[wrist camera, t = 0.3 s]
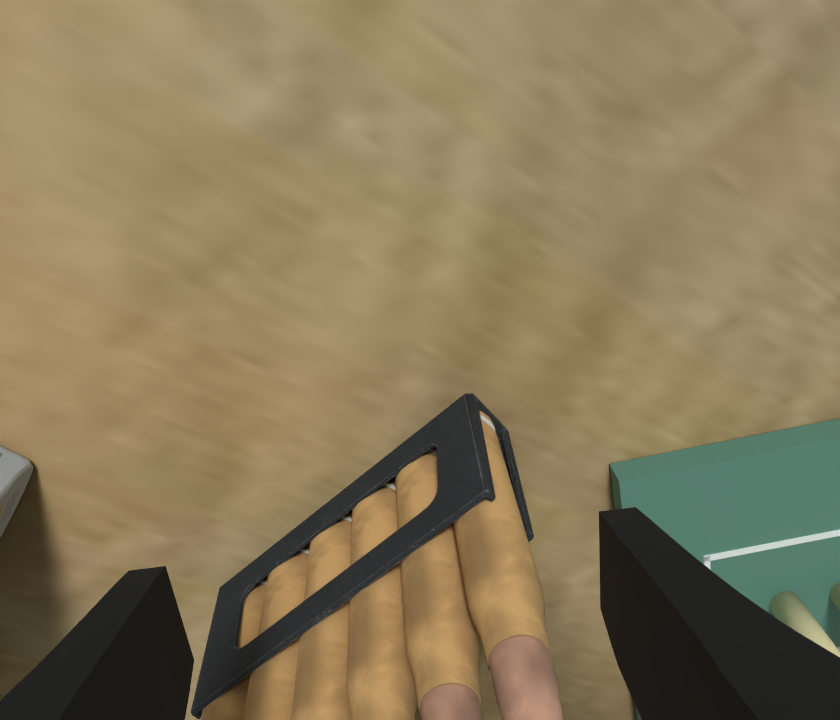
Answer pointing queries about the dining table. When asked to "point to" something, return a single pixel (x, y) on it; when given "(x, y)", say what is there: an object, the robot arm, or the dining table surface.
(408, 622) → the ammunition clip
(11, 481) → the coffee box
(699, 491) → the board
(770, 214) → the dining table surface
